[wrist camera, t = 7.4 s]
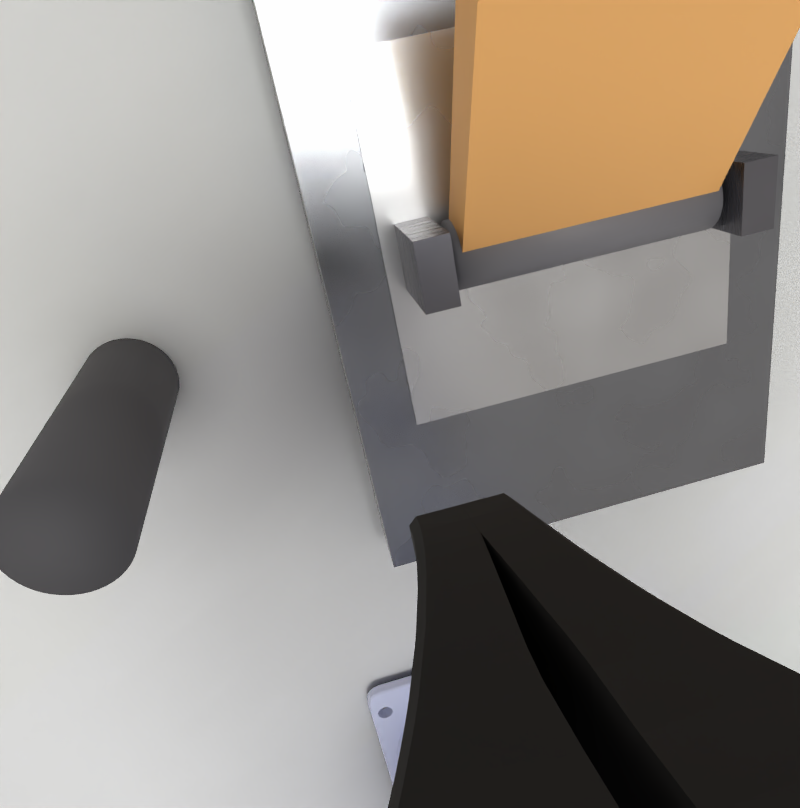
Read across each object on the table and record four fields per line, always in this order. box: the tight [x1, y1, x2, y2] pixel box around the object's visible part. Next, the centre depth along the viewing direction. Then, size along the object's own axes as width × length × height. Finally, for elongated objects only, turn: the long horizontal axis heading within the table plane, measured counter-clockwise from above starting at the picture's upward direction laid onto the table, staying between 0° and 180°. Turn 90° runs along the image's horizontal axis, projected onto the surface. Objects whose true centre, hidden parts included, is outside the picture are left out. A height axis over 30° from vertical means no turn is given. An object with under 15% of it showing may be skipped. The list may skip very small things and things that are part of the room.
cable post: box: [0, 339, 179, 595], centre depth 15 cm, size 2×2×7 cm
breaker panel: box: [252, 0, 793, 567], centre depth 16 cm, size 18×12×4 cm, turn 11°
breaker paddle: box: [440, 0, 800, 290], centre depth 13 cm, size 2×6×7 cm
